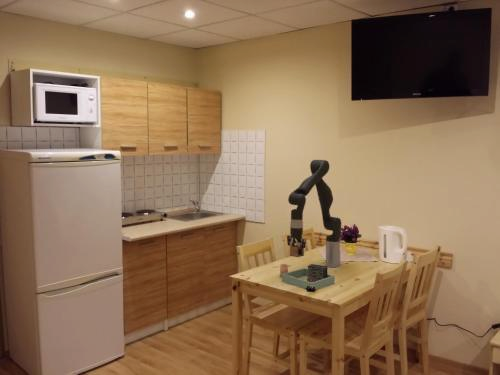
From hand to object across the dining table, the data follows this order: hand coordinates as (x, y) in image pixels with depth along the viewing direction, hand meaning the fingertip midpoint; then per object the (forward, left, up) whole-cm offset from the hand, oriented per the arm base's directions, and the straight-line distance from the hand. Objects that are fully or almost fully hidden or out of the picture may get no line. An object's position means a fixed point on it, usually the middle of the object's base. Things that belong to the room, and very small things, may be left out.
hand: (296, 253), depth 280 cm
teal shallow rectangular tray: (-2, +8, -16) cm, 18 cm away
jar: (0, -10, -16) cm, 19 cm away
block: (-1, 0, -1) cm, 1 cm away
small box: (-6, +12, -17) cm, 22 cm away
